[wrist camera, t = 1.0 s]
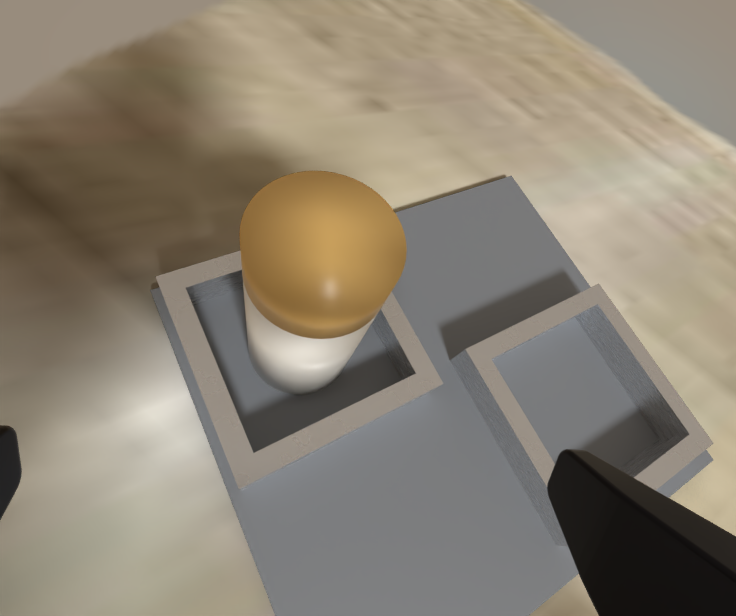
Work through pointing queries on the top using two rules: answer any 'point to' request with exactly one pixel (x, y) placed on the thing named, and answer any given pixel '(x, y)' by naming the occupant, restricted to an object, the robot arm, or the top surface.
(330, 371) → the orange and white cylinder
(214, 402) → the grey square frame
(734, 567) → the robot arm
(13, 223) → the top surface
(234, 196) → the top surface
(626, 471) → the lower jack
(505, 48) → the top surface
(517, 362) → the slate panel
